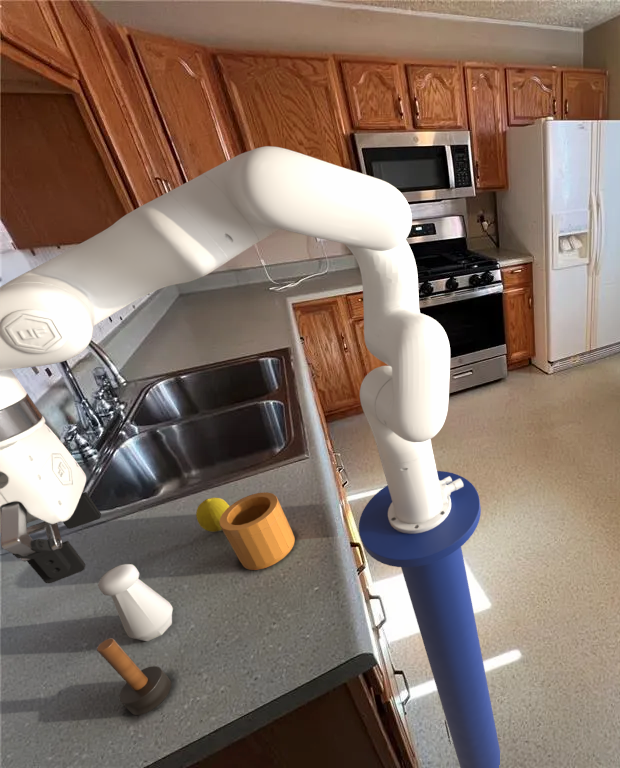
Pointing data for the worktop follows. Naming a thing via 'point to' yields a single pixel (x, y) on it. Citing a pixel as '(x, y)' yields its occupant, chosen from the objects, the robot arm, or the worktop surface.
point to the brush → (136, 680)
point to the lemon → (211, 513)
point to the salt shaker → (136, 603)
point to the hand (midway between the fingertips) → (77, 546)
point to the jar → (257, 530)
